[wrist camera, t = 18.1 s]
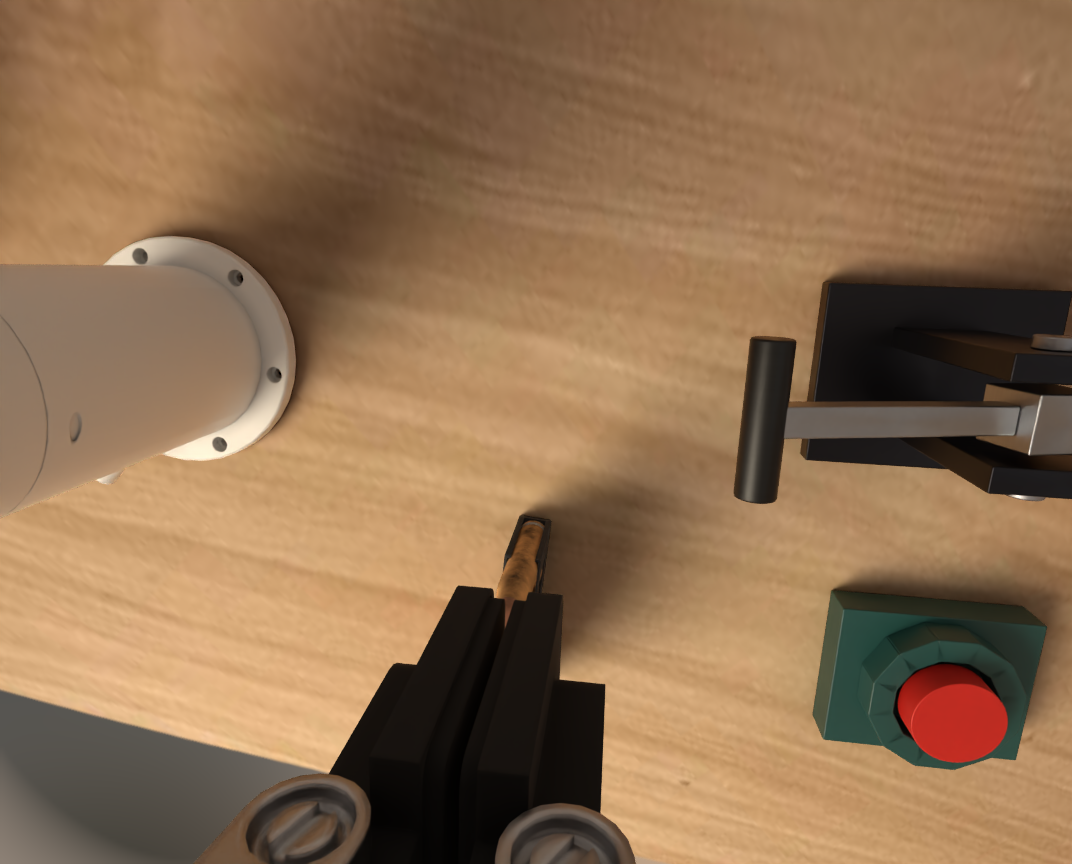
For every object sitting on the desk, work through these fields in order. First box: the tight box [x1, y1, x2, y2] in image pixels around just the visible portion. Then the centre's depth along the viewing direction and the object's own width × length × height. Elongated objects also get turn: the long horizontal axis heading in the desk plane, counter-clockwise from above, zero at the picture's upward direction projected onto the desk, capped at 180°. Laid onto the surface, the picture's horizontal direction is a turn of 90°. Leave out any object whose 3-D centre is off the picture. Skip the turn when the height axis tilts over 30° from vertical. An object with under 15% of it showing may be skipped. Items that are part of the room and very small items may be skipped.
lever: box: [734, 336, 1072, 504], centre depth 24 cm, size 13×6×2 cm, turn 89°
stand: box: [800, 282, 1072, 501], centre depth 29 cm, size 11×9×12 cm
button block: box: [813, 590, 1047, 770], centre depth 36 cm, size 10×8×4 cm
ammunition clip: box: [497, 515, 552, 627], centre depth 34 cm, size 11×2×12 cm, turn 173°
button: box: [898, 664, 1008, 763], centre depth 34 cm, size 4×4×2 cm
